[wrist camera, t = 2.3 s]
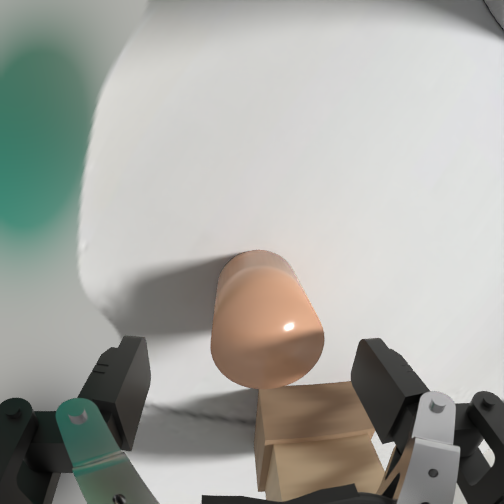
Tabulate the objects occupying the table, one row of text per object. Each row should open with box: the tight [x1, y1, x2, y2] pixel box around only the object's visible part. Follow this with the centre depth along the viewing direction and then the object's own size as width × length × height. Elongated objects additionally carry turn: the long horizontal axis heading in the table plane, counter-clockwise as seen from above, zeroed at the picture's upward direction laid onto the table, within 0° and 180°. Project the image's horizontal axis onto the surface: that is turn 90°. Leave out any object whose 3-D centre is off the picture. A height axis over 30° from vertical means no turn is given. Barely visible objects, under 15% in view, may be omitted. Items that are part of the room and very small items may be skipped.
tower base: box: [254, 381, 375, 492], centre depth 19 cm, size 7×7×5 cm
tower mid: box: [265, 433, 385, 502], centre depth 14 cm, size 6×6×5 cm
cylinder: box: [211, 250, 324, 389], centre depth 15 cm, size 5×5×6 cm
